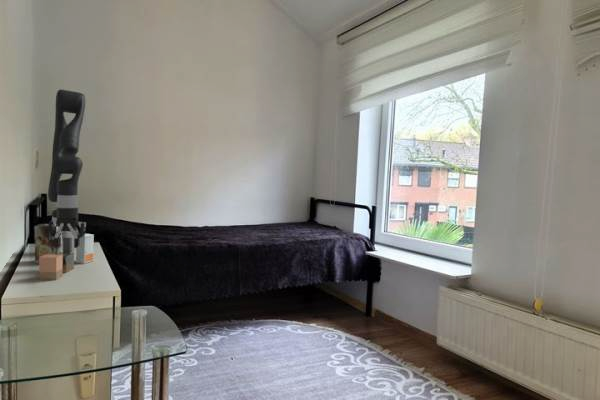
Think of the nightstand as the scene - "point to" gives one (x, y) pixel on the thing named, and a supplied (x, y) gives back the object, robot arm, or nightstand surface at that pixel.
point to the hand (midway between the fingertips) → (67, 247)
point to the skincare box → (85, 249)
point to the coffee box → (46, 242)
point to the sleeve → (68, 263)
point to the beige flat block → (67, 247)
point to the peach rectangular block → (50, 267)
